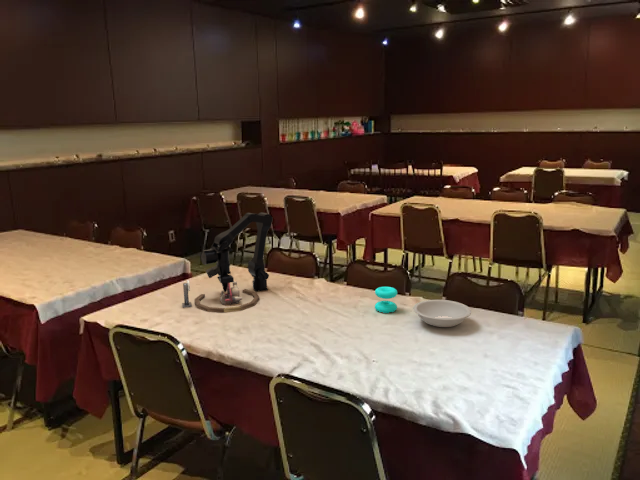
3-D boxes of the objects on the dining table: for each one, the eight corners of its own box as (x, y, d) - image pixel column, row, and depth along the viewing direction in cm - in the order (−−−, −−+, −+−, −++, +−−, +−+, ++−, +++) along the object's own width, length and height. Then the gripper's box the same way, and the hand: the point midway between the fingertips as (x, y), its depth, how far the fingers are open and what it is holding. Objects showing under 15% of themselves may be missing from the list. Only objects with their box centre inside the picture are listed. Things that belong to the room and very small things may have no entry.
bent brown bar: (253, 290, 278) (253, 288, 277) (264, 307, 254) (264, 304, 253) (193, 297, 268) (192, 294, 268) (199, 315, 244) (198, 312, 244)
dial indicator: (190, 303, 260) (188, 278, 257) (191, 307, 255) (189, 281, 253) (182, 304, 259) (180, 279, 256) (183, 308, 254) (181, 282, 251)
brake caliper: (213, 295, 264) (227, 275, 264) (232, 306, 268) (246, 286, 268) (217, 303, 253) (231, 281, 253) (236, 314, 258) (250, 293, 258)
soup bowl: (472, 336, 218) (473, 321, 216) (411, 332, 222) (412, 317, 221) (468, 315, 241) (469, 301, 239) (413, 312, 245) (414, 298, 244)
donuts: (375, 292, 242) (375, 285, 251) (374, 313, 244) (374, 306, 254) (397, 292, 241) (396, 285, 250) (397, 314, 243) (396, 306, 253)
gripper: (203, 257, 270) (205, 288, 274) (209, 267, 253) (211, 299, 256) (226, 255, 274) (228, 285, 277) (233, 265, 256) (234, 296, 260)
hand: (225, 291), depth 268 cm, fingers closed
